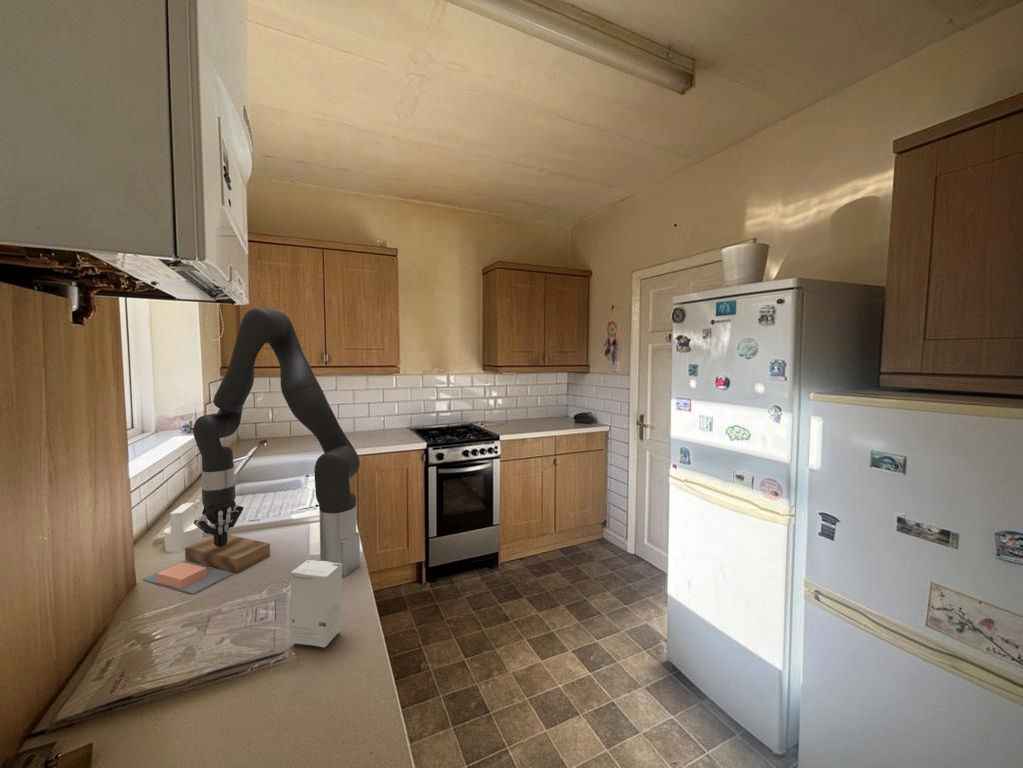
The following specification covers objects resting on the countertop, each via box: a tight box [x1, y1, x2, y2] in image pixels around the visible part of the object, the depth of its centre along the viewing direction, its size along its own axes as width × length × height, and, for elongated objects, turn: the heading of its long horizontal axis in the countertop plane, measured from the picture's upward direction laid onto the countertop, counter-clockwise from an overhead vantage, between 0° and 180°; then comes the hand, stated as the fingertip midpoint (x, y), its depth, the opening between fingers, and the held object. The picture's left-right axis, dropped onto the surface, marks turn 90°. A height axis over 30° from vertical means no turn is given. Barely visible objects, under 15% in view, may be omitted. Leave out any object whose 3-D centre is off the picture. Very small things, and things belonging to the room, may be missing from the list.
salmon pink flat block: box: [156, 561, 207, 589], centre depth 104 cm, size 9×6×2 cm, turn 72°
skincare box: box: [288, 559, 343, 648], centre depth 84 cm, size 8×6×15 cm
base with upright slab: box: [163, 502, 204, 553], centre depth 123 cm, size 9×9×12 cm
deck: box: [184, 534, 271, 575], centre depth 116 cm, size 20×10×4 cm, turn 71°
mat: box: [142, 560, 234, 596], centre depth 106 cm, size 19×10×1 cm, turn 71°
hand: (221, 545), depth 114 cm, fingers closed
